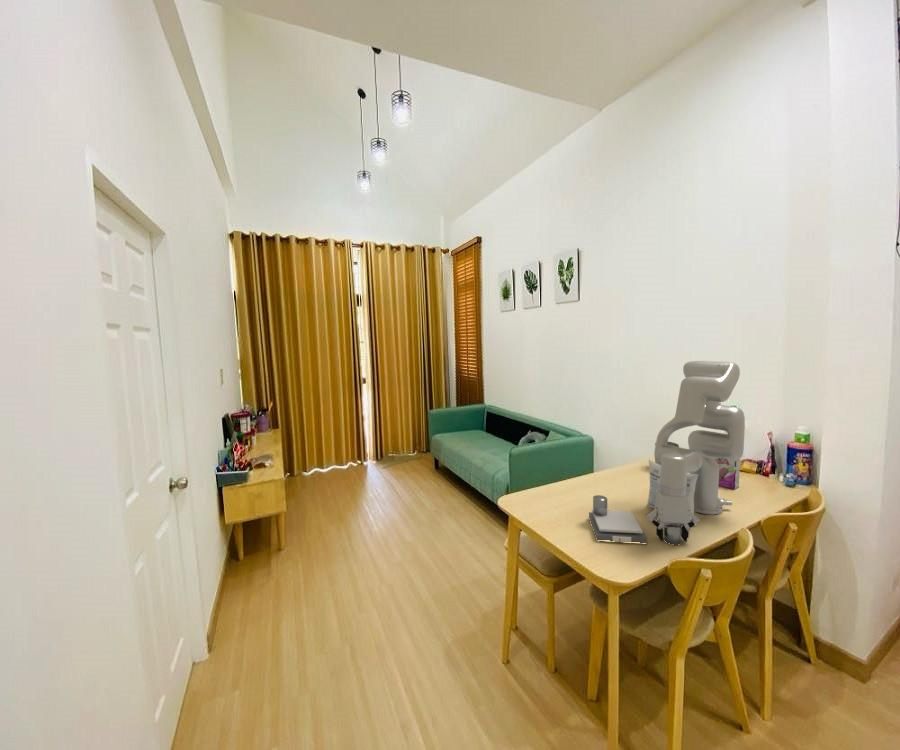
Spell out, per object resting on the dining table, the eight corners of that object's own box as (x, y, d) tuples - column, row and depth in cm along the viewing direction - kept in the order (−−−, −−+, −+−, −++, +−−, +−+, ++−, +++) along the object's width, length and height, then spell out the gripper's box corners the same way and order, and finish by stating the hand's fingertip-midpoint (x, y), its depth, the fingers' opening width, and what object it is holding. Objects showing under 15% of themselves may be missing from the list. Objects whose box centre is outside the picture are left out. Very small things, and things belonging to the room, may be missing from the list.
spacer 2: (676, 537, 128) (677, 521, 128) (683, 545, 124) (683, 529, 123) (661, 536, 129) (661, 520, 129) (666, 544, 125) (667, 528, 124)
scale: (632, 520, 141) (632, 510, 140) (647, 545, 125) (647, 534, 124) (588, 518, 144) (588, 508, 143) (597, 542, 128) (597, 531, 127)
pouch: (687, 530, 133) (689, 477, 130) (641, 508, 150) (642, 460, 148) (701, 524, 136) (703, 472, 133) (654, 503, 153) (655, 457, 151)
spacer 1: (605, 510, 141) (605, 495, 141) (608, 516, 136) (608, 501, 136) (592, 509, 142) (591, 495, 142) (594, 516, 137) (594, 501, 137)
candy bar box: (706, 482, 170) (707, 448, 168) (710, 479, 173) (711, 446, 171) (735, 490, 161) (736, 454, 159) (739, 487, 164) (741, 451, 162)
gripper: (696, 485, 126) (694, 534, 128) (641, 484, 130) (641, 531, 132) (707, 495, 119) (705, 546, 121) (649, 493, 122) (648, 543, 124)
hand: (672, 538), depth 126 cm, fingers open, 6 cm apart
